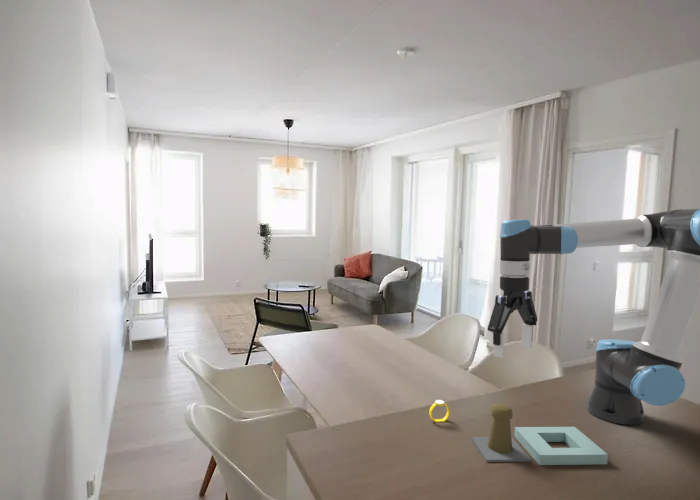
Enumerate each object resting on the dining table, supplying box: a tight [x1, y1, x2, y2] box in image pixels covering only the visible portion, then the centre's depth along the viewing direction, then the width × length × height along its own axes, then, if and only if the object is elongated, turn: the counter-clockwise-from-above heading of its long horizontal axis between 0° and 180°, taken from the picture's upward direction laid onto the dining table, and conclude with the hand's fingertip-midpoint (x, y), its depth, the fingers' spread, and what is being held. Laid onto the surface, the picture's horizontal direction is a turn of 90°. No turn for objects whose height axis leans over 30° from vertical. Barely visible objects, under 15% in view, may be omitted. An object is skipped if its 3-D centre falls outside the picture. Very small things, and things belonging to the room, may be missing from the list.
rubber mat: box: [471, 436, 532, 463], centre depth 110 cm, size 11×11×1 cm
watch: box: [428, 399, 451, 423], centre depth 126 cm, size 6×3×6 cm, turn 102°
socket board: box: [514, 426, 609, 466], centre depth 111 cm, size 17×14×2 cm
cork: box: [488, 403, 513, 453], centre depth 110 cm, size 6×6×11 cm
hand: (513, 351), depth 119 cm, fingers open, 13 cm apart
